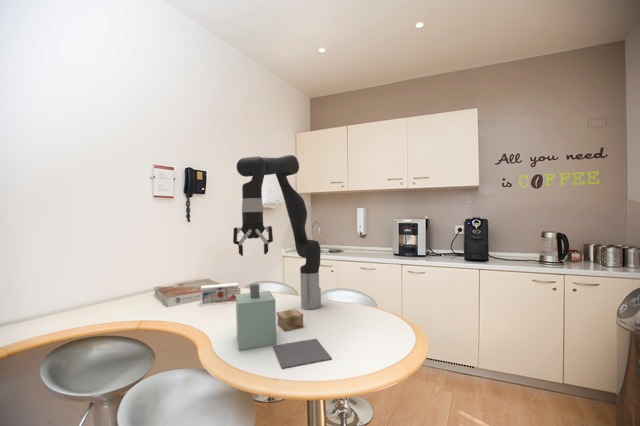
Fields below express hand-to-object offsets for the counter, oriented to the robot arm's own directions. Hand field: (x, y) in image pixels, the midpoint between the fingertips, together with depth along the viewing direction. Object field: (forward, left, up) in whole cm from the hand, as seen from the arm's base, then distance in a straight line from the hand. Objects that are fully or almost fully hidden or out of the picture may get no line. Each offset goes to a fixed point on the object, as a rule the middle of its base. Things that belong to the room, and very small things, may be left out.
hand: (253, 254), depth 111 cm
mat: (-13, +16, -32) cm, 38 cm away
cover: (0, 0, -32) cm, 32 cm away
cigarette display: (+12, -56, -32) cm, 65 cm away
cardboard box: (-15, -9, -32) cm, 36 cm away
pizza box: (+29, -79, -32) cm, 90 cm away
